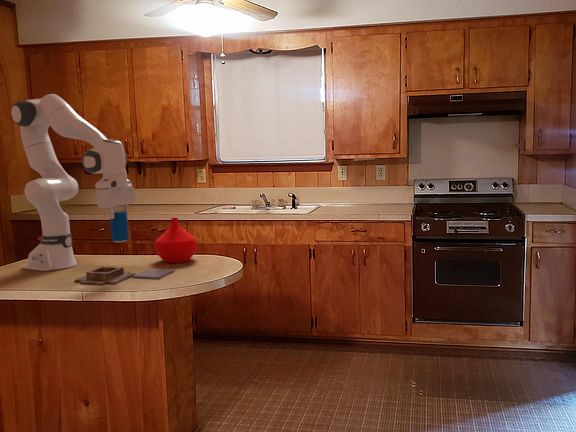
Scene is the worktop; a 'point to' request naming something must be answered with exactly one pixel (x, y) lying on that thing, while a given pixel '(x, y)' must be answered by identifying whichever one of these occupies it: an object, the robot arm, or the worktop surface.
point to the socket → (105, 276)
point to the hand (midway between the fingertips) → (118, 217)
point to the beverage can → (119, 227)
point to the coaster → (153, 273)
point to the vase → (175, 244)
